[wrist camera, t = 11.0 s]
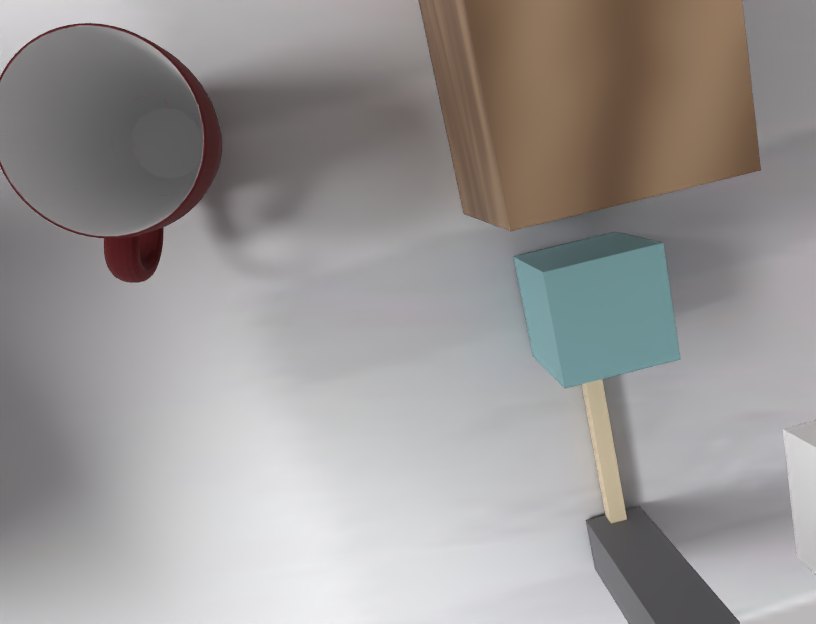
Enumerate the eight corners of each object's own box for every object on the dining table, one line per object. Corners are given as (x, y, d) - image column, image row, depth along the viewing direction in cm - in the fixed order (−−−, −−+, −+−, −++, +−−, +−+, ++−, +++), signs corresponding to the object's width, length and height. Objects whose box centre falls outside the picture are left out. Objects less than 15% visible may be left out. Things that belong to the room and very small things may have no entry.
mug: (254, 264, 37) (219, 298, 27) (103, 268, 36) (12, 304, 27) (241, 63, 35) (198, 22, 25) (81, 63, 34) (-27, 21, 24)
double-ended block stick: (576, 573, 42) (652, 710, 32) (513, 256, 38) (577, 290, 27) (666, 550, 43) (773, 677, 32) (615, 231, 38) (719, 255, 27)
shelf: (463, 213, 37) (510, 231, 26) (410, -38, 35) (438, -135, 24) (642, 170, 38) (760, 170, 27) (604, -82, 35) (720, -198, 24)
